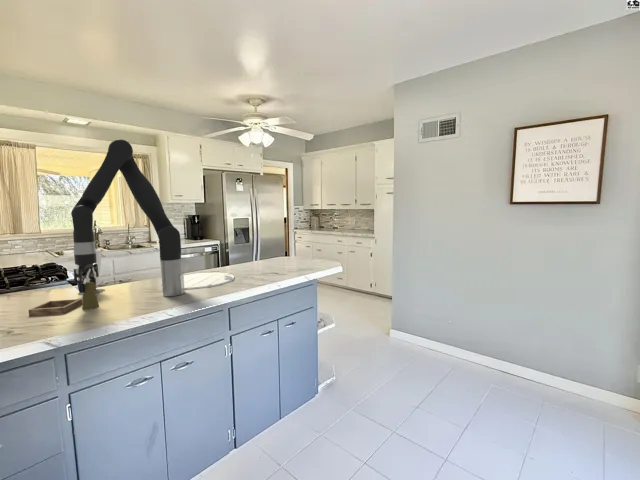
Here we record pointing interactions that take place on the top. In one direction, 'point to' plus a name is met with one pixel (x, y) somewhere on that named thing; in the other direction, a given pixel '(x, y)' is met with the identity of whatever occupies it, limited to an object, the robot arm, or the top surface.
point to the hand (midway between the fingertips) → (88, 290)
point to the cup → (98, 259)
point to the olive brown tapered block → (90, 297)
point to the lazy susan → (206, 280)
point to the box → (46, 310)
